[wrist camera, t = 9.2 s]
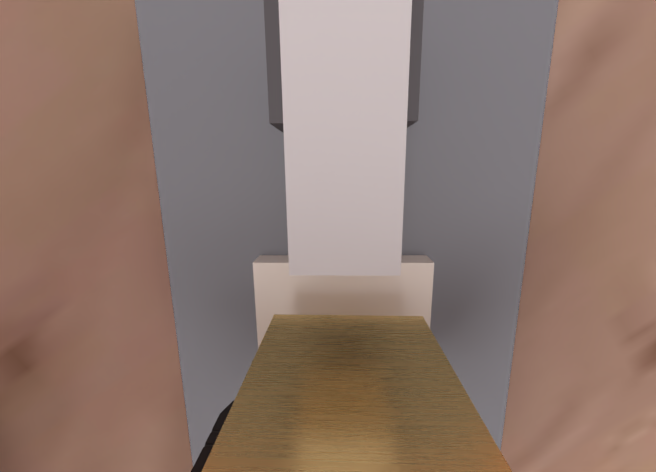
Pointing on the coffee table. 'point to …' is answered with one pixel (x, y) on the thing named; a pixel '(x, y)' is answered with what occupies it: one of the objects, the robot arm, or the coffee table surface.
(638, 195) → the coffee table surface
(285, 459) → the yellow plus-sign block
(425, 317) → the lever control panel
